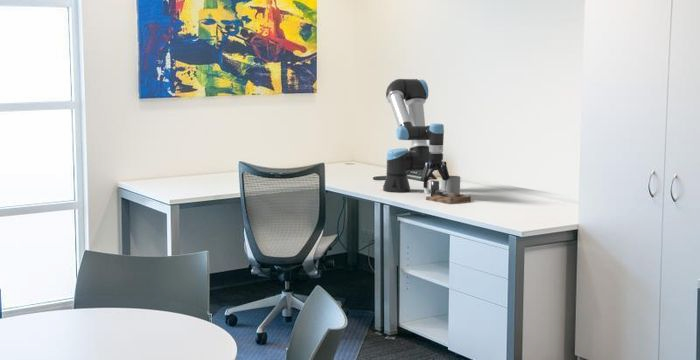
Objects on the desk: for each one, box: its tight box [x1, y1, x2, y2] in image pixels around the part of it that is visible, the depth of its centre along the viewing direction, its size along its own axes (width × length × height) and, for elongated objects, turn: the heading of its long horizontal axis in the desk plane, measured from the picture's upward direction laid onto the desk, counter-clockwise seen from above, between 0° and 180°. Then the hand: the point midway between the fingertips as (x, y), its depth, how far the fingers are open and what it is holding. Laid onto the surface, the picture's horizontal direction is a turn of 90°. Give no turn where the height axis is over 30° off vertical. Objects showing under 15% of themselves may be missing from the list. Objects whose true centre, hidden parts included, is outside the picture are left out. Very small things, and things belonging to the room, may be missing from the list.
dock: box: [425, 189, 472, 205], centre depth 469 cm, size 17×16×4 cm
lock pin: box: [430, 180, 454, 198], centre depth 474 cm, size 16×4×8 cm, turn 38°
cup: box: [445, 175, 461, 194], centre depth 489 cm, size 8×8×10 cm
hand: (434, 193), depth 479 cm, fingers open, 12 cm apart
